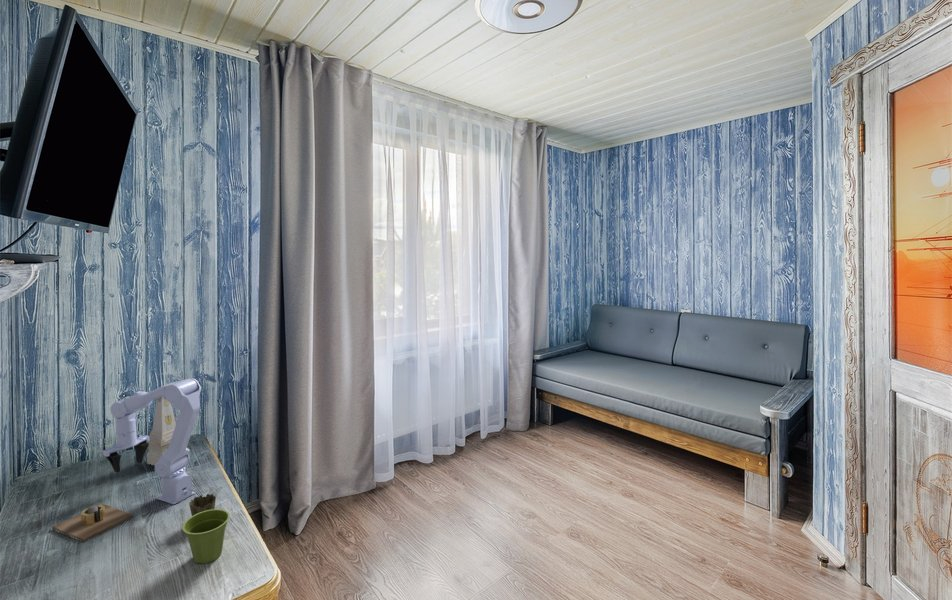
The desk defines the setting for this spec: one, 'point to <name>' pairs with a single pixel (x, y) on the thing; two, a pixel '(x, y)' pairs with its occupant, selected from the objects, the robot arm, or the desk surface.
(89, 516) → the brass collar
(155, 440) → the miniature monument
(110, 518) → the post stand
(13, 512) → the desk surface
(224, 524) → the plant pot
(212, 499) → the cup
